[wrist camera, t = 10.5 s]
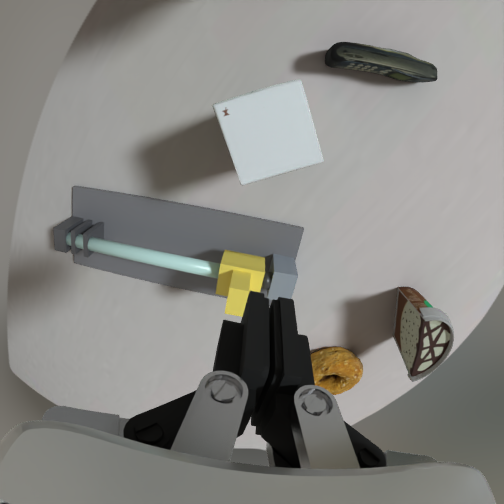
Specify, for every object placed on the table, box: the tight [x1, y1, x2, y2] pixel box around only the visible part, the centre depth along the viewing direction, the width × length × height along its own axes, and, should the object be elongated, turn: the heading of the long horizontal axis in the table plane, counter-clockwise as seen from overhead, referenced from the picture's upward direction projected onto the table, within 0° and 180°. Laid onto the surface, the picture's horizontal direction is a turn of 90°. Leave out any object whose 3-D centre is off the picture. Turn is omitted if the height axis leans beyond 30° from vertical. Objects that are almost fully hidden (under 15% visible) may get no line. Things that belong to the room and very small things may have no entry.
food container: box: [393, 287, 454, 382], centre depth 39 cm, size 12×6×10 cm, turn 9°
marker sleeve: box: [215, 250, 265, 317], centre depth 35 cm, size 4×5×8 cm
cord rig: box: [54, 186, 304, 306], centre depth 38 cm, size 12×32×6 cm, turn 79°
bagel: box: [311, 347, 363, 395], centre depth 46 cm, size 10×11×5 cm
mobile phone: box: [325, 42, 437, 82], centre depth 28 cm, size 5×3×15 cm
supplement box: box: [213, 79, 324, 185], centre depth 29 cm, size 7×7×13 cm
